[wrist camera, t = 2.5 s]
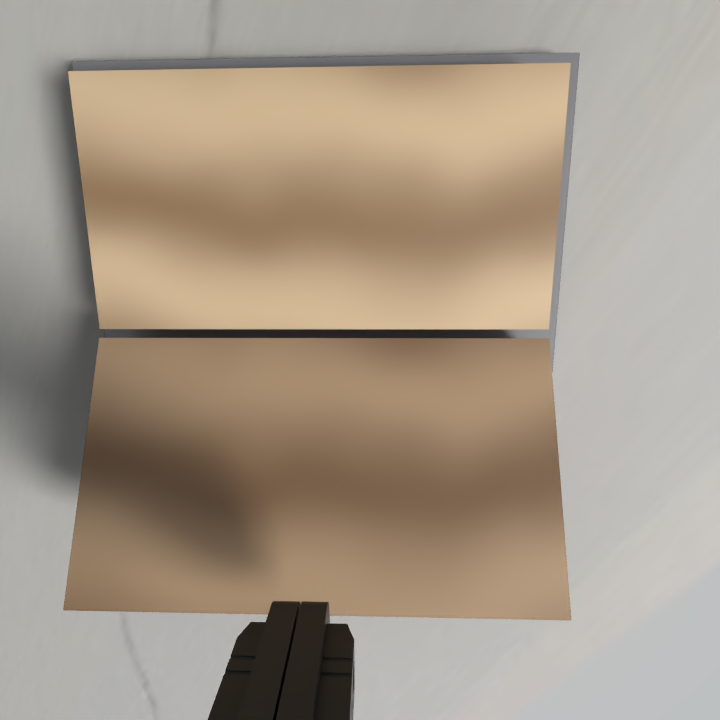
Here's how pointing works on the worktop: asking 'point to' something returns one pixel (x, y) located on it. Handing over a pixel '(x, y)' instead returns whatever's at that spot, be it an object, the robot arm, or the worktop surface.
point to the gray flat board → (373, 61)
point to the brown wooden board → (322, 478)
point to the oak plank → (322, 195)
